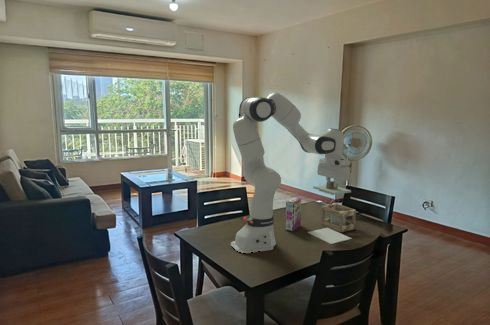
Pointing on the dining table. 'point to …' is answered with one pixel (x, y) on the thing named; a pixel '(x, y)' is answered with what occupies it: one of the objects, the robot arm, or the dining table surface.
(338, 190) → the lid
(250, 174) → the robot arm
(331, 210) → the crate
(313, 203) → the dining table surface
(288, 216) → the candy bar box
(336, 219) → the medicine box
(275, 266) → the dining table surface
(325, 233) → the mat
